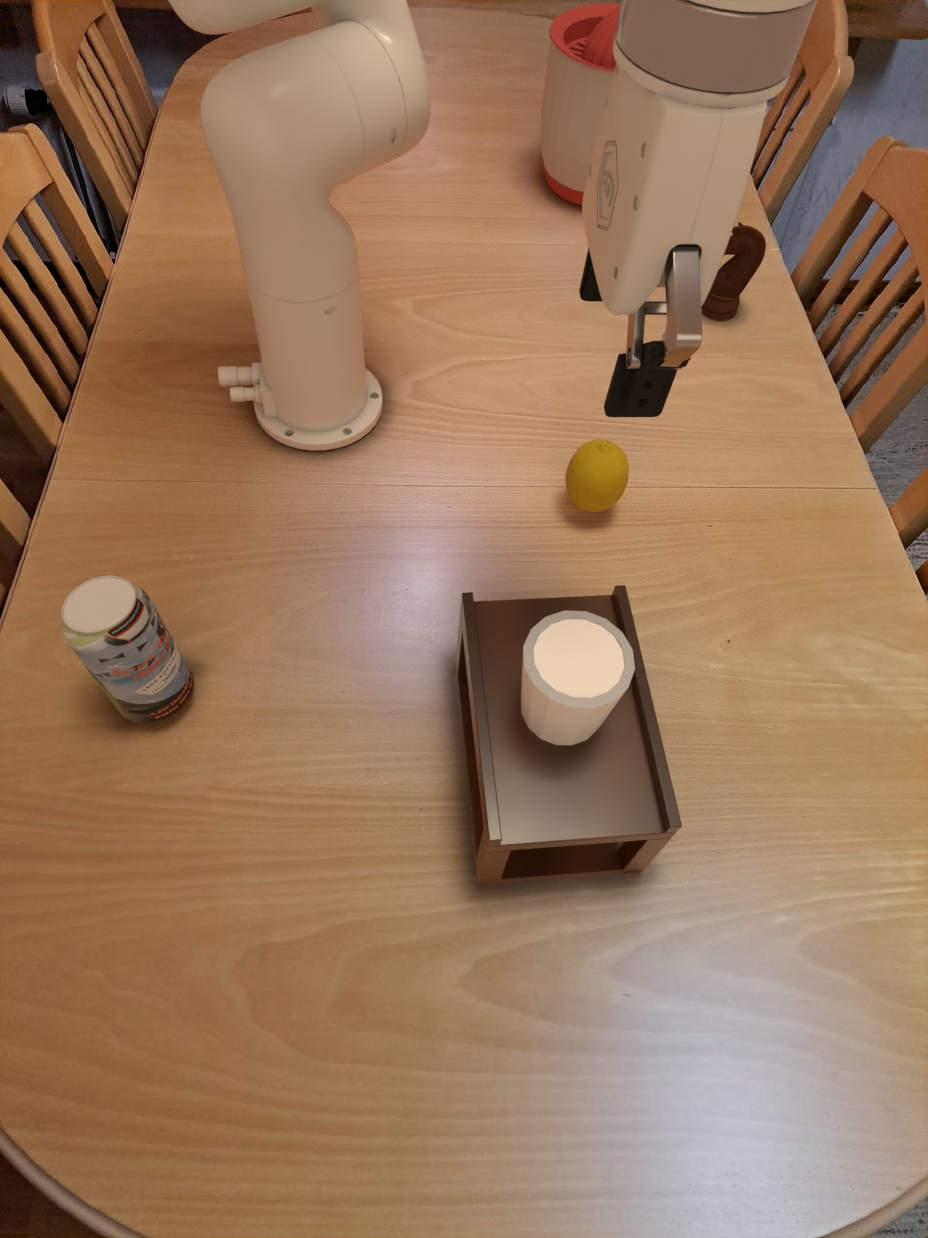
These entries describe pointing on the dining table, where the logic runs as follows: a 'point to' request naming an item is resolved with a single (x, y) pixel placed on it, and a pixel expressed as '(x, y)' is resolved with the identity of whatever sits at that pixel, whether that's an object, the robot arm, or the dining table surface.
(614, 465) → the lemon
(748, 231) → the chess piece
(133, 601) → the beverage can
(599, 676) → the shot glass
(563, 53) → the citrus juicer
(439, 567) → the dining table surface
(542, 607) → the rack
